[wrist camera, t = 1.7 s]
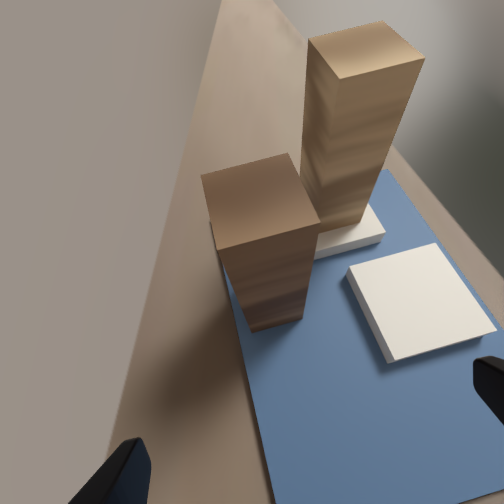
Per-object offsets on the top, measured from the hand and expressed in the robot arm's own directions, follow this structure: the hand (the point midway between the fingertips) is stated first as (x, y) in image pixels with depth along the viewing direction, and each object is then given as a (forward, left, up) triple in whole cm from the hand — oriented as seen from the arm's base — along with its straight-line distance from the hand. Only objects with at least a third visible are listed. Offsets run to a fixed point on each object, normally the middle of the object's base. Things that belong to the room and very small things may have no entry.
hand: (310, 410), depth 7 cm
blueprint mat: (+6, -6, -13) cm, 16 cm away
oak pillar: (+14, -7, -11) cm, 19 cm away
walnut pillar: (+8, 0, -13) cm, 15 cm away
